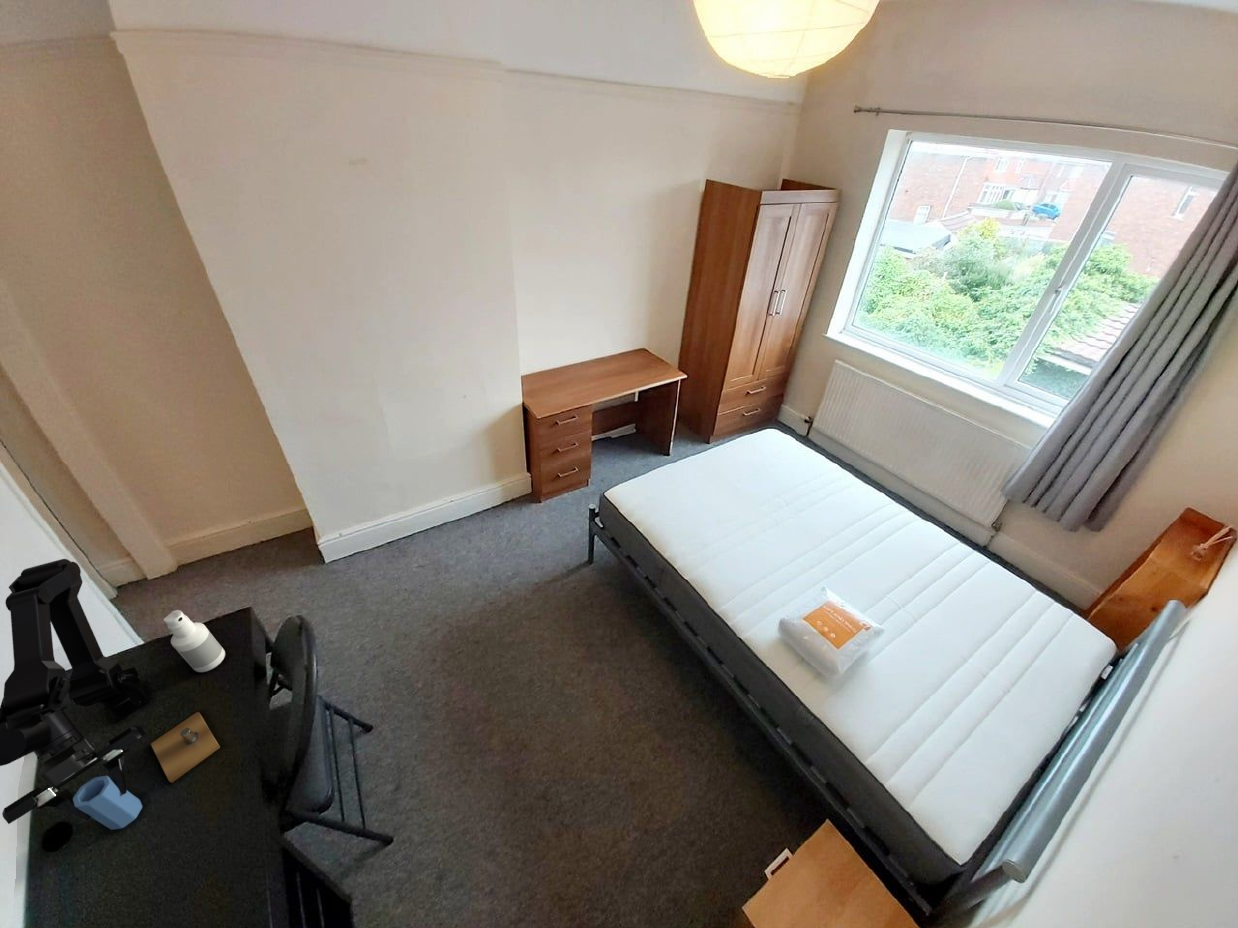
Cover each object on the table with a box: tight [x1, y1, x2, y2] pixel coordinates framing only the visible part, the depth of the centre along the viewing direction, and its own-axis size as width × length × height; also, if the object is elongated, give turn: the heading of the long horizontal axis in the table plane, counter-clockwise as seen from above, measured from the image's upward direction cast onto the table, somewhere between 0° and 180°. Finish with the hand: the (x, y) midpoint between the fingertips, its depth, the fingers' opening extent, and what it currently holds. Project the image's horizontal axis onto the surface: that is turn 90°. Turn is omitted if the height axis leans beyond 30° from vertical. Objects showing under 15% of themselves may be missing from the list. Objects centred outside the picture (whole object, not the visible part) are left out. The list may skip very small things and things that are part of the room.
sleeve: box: [73, 775, 143, 831], centre depth 95 cm, size 5×5×11 cm
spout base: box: [150, 711, 221, 784], centre depth 107 cm, size 12×9×4 cm
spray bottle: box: [163, 609, 226, 673], centre depth 121 cm, size 7×7×18 cm
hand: (107, 805), depth 94 cm, fingers closed on sleeve, 5 cm apart
